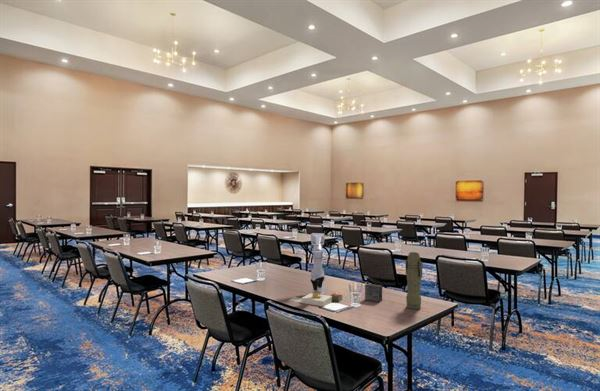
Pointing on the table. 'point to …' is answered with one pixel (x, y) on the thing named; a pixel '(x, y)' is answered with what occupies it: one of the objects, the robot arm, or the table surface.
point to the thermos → (413, 280)
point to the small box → (373, 292)
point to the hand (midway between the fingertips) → (317, 288)
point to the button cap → (336, 294)
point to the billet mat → (296, 299)
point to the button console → (336, 298)
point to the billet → (316, 294)
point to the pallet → (317, 300)
